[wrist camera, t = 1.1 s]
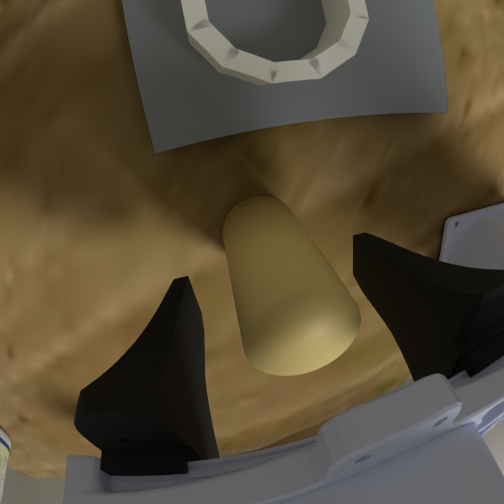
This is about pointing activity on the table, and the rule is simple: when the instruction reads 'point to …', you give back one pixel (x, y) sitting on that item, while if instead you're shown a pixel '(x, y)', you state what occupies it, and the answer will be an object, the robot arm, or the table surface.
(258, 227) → the peg
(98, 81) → the table surface
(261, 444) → the table surface
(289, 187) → the table surface
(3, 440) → the supplement tub
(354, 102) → the holder
